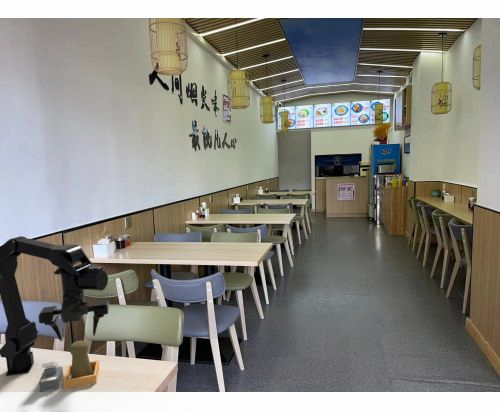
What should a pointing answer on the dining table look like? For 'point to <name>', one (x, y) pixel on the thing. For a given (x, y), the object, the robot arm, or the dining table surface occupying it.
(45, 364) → the breaker rocker
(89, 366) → the olive vase
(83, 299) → the robot arm
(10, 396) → the dining table surface
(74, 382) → the orange square tray
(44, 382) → the breaker box
